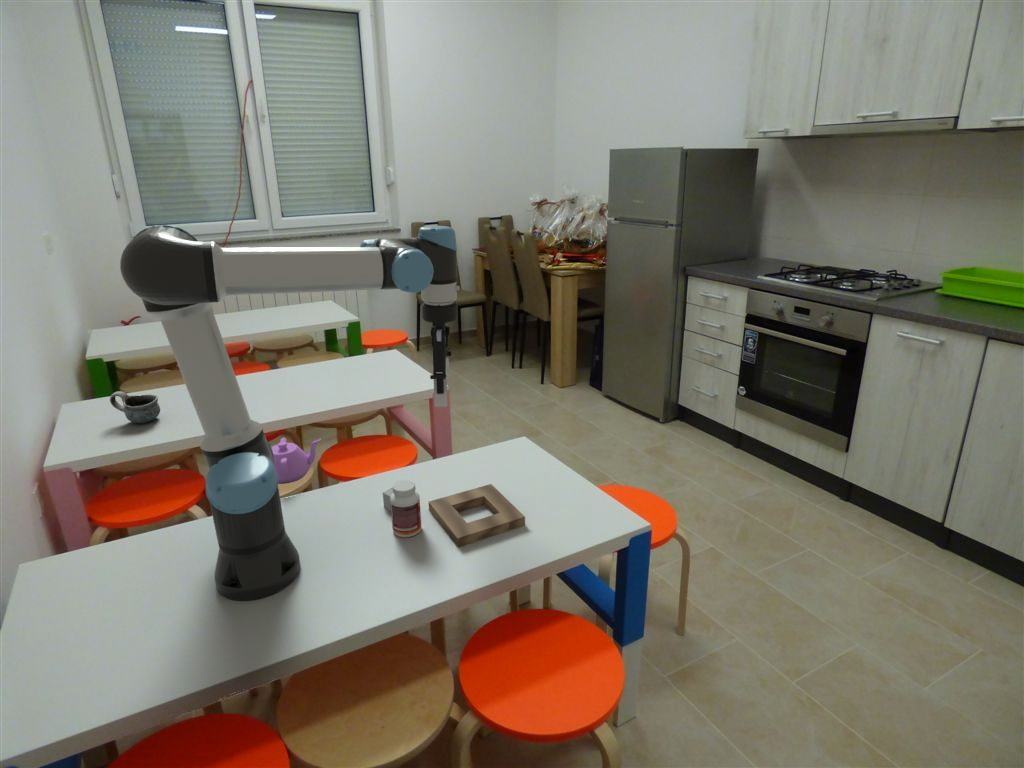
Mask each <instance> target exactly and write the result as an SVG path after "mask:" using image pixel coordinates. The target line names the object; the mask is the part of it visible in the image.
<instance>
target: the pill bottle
mask: <svg viewBox="0 0 1024 768" xmlns="http://www.w3.org/2000/svg"><path fill="white" fill-rule="evenodd" d="M392 488H393V494H392V495H391V497H390V505H391V511H390V515H391V525H392V526H391V527H392V532H393V534H394V535H396V536H397V537H399V538H410V537H413V536H416V535H417V534H419V533H420V531H421V530H422V515H421V513H422V512H421V501H420V500H421V498H420V494H419V492H418V491H417V490H416V489H417V488H416V484H415V482H414V481H413V480H411V479H402V480H398V481H396V482H394V483H393V485H392Z"/></svg>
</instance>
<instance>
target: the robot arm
mask: <svg viewBox="0 0 1024 768" xmlns="http://www.w3.org/2000/svg"><path fill="white" fill-rule="evenodd" d="M457 252H458V248H457V236H456V232H455V229H454V228H453V227H451V226H446V225H427V226H426V225H425V226H421V227H420V228H419V229H418V234H417V236H414V237H399V238H395V237H394V238H392V237H391V238H379V237H377V238H374V239H373V238H372V239H364V240H362V242H360V245H359V246H354V247H353V246H346V247H345V246H339V247H337V246H335V247H329V246H328V247H327V246H325V247H221V246H220V245H219V244H218V243H216V242H215V241H199V240H198V238H196V237H195V236H194V235H193V234H191V232H189V231H187V230H185V229H183V228H180V227H178V226H174V225H168V224H163V225H162V224H161V225H160V224H159V225H151V226H148V227H145V228H144V229H141V230H140V231H139V232H137V234H135V236H134V237H133V238H132V239H131V240H130V242H129V243H128V244H126V246H125V248H124V250H123V251H122V253H121V257H120V262H119V263H120V265H119V266H120V268H119V269H120V273H121V276H122V279H123V281H124V283H125V284H126V286H127V287H128V288H129V289H130V291H131V292H132V293H134V294H135V295H136V296H137V297H139V298H140V299H141V301H142V304H143V306H144V307H145V310H146V312H147V314H150V315H152V316H154V317H156V318H158V319H159V320H160V322H161V325H162V328H163V330H164V334H165V335H166V338H167V340H168V343H169V346H170V348H171V350H172V353H173V355H174V358H175V361H176V363H177V367H178V369H179V371H180V374H181V376H182V379H183V382H184V385H185V386H186V389H187V392H188V395H189V398H190V400H191V403H192V404H193V408H194V410H195V412H196V415H197V417H198V420H199V422H200V425H201V428H202V430H203V432H204V436H203V437H202V439H201V440H200V442H199V446H200V449H201V452H202V454H203V456H204V460H205V463H206V464H207V467H208V472H207V474H206V477H205V478H206V479H205V493H206V496H207V499H208V501H209V504H210V505H209V506H210V510H211V515H212V518H213V519H212V520H213V524H214V529H215V534H216V539H217V544H218V553H217V559H216V565H215V570H214V582H215V586H216V589H217V591H218V593H219V594H220V595H222V596H223V597H224V598H227V599H230V600H234V601H253V600H259V599H262V598H266V597H269V596H271V595H273V594H276V593H278V592H280V591H282V590H283V589H285V588H286V587H288V586H289V585H290V584H291V583H293V582H294V580H295V579H296V578H297V576H298V574H299V573H300V570H301V559H300V555H299V552H298V549H297V548H296V547H295V545H294V543H293V541H292V540H291V538H290V537H289V535H288V534H287V533H288V532H287V531H286V527H285V521H284V515H283V514H284V513H283V509H282V504H281V503H282V502H281V496H280V489H279V484H278V475H277V472H276V470H275V466H274V460H273V459H274V456H273V451H272V448H271V447H272V446H271V444H270V443H269V442H268V440H267V438H266V434H265V431H264V429H263V426H262V425H261V423H260V422H258V421H255V420H254V419H251V417H250V413H249V411H248V408H247V406H246V402H245V400H244V397H243V393H242V391H241V388H240V386H239V383H238V380H237V376H236V374H235V371H234V369H233V368H234V367H233V365H232V363H231V359H230V356H229V354H228V351H227V347H226V345H225V343H224V339H223V337H222V334H221V331H220V329H219V324H218V323H217V320H216V317H215V312H214V311H213V308H212V306H213V303H221V302H222V301H224V299H225V298H226V297H227V296H246V295H248V296H249V295H270V294H272V295H273V294H293V293H295V294H296V293H298V294H300V293H321V292H322V293H324V292H346V291H351V292H352V291H370V290H371V291H372V290H373V291H375V290H400V291H401V292H406V293H411V294H417V293H420V298H421V301H423V302H422V303H421V316H422V317H421V318H422V319H423V321H425V322H427V323H432V324H433V326H430V327H431V329H430V337H431V348H432V355H433V357H432V359H433V360H432V362H433V363H432V364H433V366H432V368H433V369H432V370H433V374H431V375H429V378H430V380H433V396H434V398H433V399H434V401H433V402H434V406H433V407H434V408H447V407H448V385H450V364H449V363H450V362H449V361H450V358H449V357H452V351H449V350H450V347H449V341H450V334H451V330H450V329H451V328H450V327H451V326H448V323H452V322H455V321H456V320H457V319H458V318H459V317H458V302H457V301H456V300H458V292H457V291H460V290H461V287H460V285H457V279H458V278H457V274H458V273H457V267H458V266H457V263H458V262H457V258H458V257H457Z"/></svg>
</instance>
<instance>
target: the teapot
mask: <svg viewBox="0 0 1024 768" xmlns="http://www.w3.org/2000/svg"><path fill="white" fill-rule="evenodd" d="M320 441H321V438H318V439H315V440H313V441H312V442H311V444H310V449H309V450H310V451H309V453H308V454H306V453H305V451H304V450H303V449H302V448H301V447H300V446H298V445H297V444H296V443H294V442H288V441H287V438H286V437H281V438H280V440H279V442H278V443H277V444H275V445H273V446H271V448H272V451H273V456H274V459H273V460H274V466H275V470H276V472H277V475H278V485H285V484H290V483H294V482H297V481H300V480H301V479H303V478H304V477H305V476H306V475H307V474H308V472H309V471H310V468H311V465H312V464H313V463H314V462H315V459H316V455H317V452H316V449H317V447H316V446H317V445H318V443H319V442H320Z"/></svg>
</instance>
